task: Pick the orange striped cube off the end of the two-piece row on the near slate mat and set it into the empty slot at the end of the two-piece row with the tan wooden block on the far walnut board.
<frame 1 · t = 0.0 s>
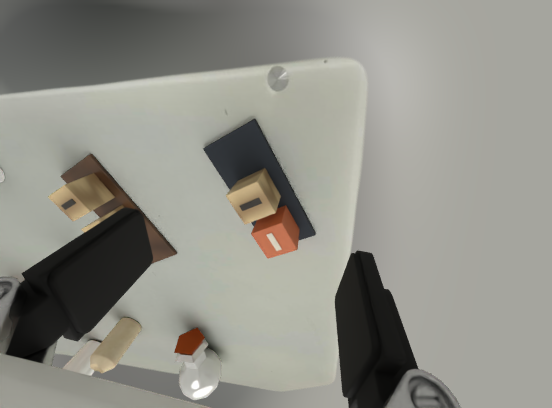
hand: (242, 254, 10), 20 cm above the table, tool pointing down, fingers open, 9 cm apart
tan wooden block: (96, 190, 35), resting on far board
near letter a: (259, 188, 30), resting on near mat
orange striped cube: (279, 222, 32), resting on near mat
candle: (131, 323, 55), on the table
near mat: (263, 193, 31), on the table
cup: (100, 344, 64), on the table
far letter i: (123, 220, 37), resting on far board
potion bottle: (205, 343, 54), on the table
far board: (123, 216, 37), on the table
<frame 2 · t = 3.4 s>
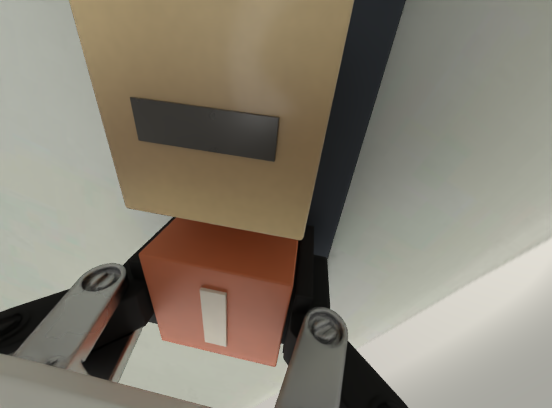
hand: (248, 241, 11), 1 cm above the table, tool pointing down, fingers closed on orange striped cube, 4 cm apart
near letter a: (258, 106, 8), resting on near mat
orange striped cube: (250, 235, 11), point 1 cm above the table, touching gripper, near mat
near mat: (259, 131, 9), on the table
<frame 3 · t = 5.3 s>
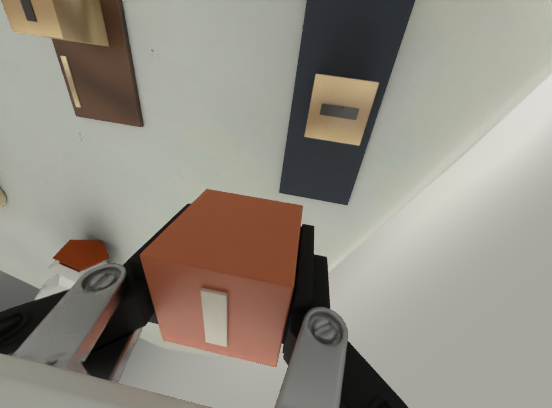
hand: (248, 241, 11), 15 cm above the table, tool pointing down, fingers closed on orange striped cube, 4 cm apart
near letter a: (334, 106, 21), resting on near mat
orange striped cube: (251, 235, 11), point 15 cm above the table, touching gripper
near mat: (331, 116, 21), on the table
far letter i: (80, 13, 20), resting on far board
potion bottle: (100, 264, 39), on the table
far board: (84, 8, 20), on the table
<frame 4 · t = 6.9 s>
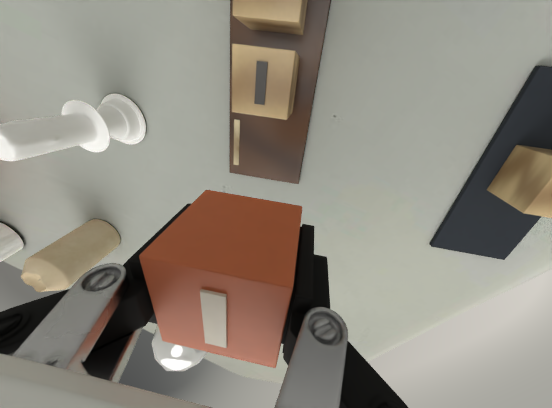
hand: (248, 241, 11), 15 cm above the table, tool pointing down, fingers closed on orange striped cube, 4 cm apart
near letter a: (526, 172, 20), resting on near mat
orange striped cube: (250, 236, 11), point 15 cm above the table, touching gripper
candle: (105, 232, 35), on the table
near mat: (514, 180, 21), on the table
cup: (10, 234, 39), on the table
far letter i: (271, 83, 20), resting on far board
candle 2: (125, 119, 25), on the table
potion bottle: (200, 301, 39), on the table
far board: (273, 77, 20), on the table
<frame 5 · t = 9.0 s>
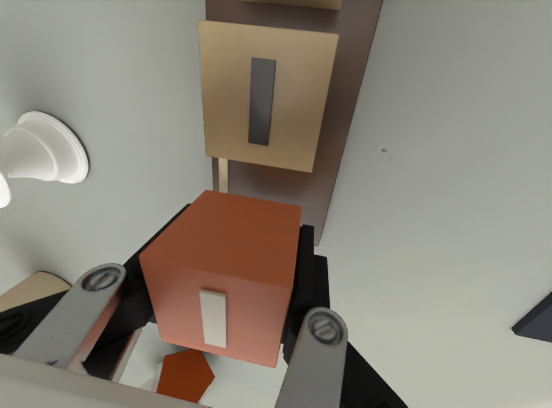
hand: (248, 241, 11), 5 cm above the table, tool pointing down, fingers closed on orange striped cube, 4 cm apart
orange striped cube: (250, 236, 11), point 5 cm above the table, touching gripper
candle: (57, 286, 26), on the table
far letter i: (279, 97, 12), resting on far board
candle 2: (58, 148, 17), on the table
potion bottle: (185, 365, 31), on the table
far board: (282, 86, 12), on the table
when the fingers open (1 cm above the table, at t = 10.5 s): orange striped cube stays where it is, resting on far board.
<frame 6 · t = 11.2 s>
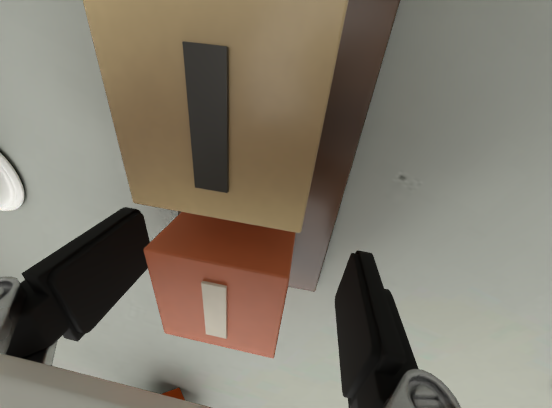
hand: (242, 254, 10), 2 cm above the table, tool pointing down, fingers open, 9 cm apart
orange striped cube: (249, 233, 11), resting on far board
far letter i: (259, 106, 8), resting on far board
potion bottle: (166, 403, 27), on the table
far board: (262, 91, 9), on the table
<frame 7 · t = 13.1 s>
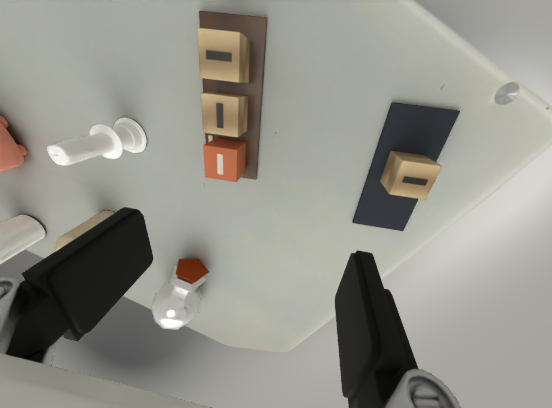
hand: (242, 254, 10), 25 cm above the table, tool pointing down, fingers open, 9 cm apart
tan wooden block: (232, 60, 27), resting on far board
near letter a: (401, 168, 31), resting on near mat
orange striped cube: (231, 154, 33), resting on far board
candle: (113, 221, 44), on the table
near mat: (397, 174, 32), on the table
cup: (34, 225, 48), on the table
teapot: (8, 140, 38), on the table
far letter i: (231, 111, 30), resting on far board
candle 2: (131, 135, 35), on the table
potion bottle: (190, 277, 49), on the table
far board: (232, 107, 30), on the table
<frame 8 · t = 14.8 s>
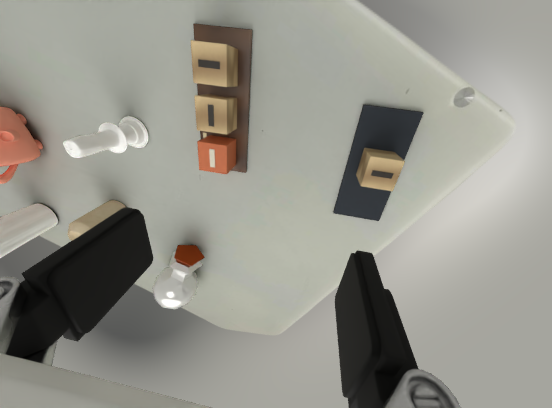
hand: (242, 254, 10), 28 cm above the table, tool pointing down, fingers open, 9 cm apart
tan wooden block: (222, 66, 31), resting on far board
near letter a: (374, 163, 34), resting on near mat
orange striped cube: (223, 150, 37), resting on far board
candle: (119, 210, 48), on the table
near mat: (371, 168, 35), on the table
cup: (47, 213, 53), on the table
teapot: (26, 135, 43), on the table
far letter i: (223, 111, 34), resting on far board
candle 2: (135, 132, 39), on the table
potion bottle: (188, 263, 53), on the table
far board: (224, 108, 34), on the table
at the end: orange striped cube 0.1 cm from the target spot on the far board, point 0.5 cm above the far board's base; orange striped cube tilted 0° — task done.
